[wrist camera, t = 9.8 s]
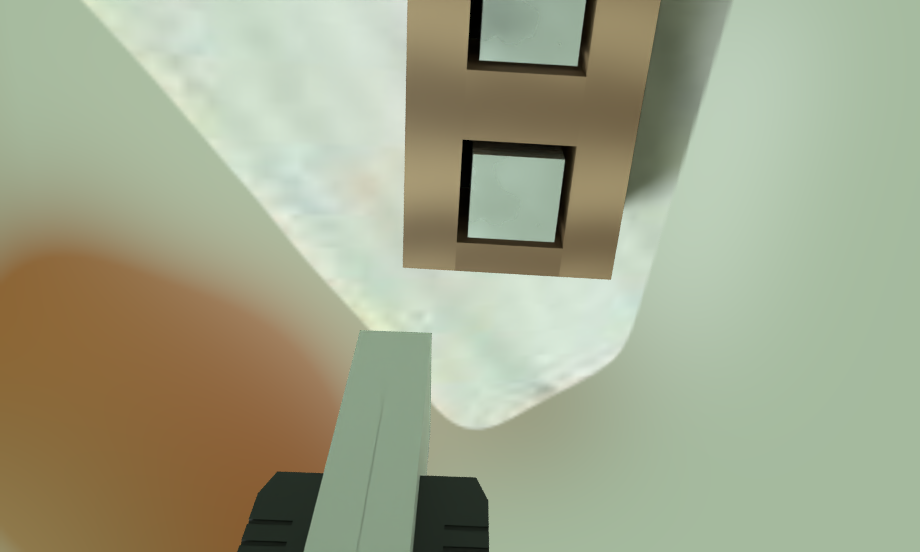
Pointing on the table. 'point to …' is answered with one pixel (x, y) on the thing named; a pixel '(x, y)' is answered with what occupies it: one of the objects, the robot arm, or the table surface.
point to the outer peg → (514, 190)
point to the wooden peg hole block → (522, 136)
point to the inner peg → (531, 31)
